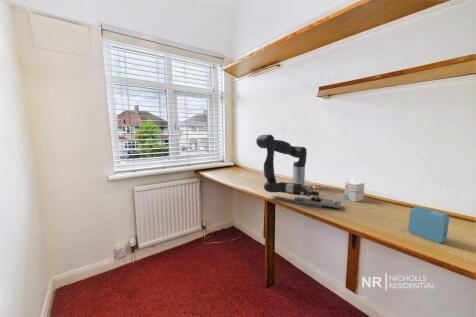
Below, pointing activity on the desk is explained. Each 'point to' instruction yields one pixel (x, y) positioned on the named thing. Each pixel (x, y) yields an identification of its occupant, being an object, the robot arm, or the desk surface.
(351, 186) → the ink box
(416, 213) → the data package
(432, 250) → the desk surface
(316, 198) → the link pin
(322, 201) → the chain ends
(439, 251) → the desk surface
